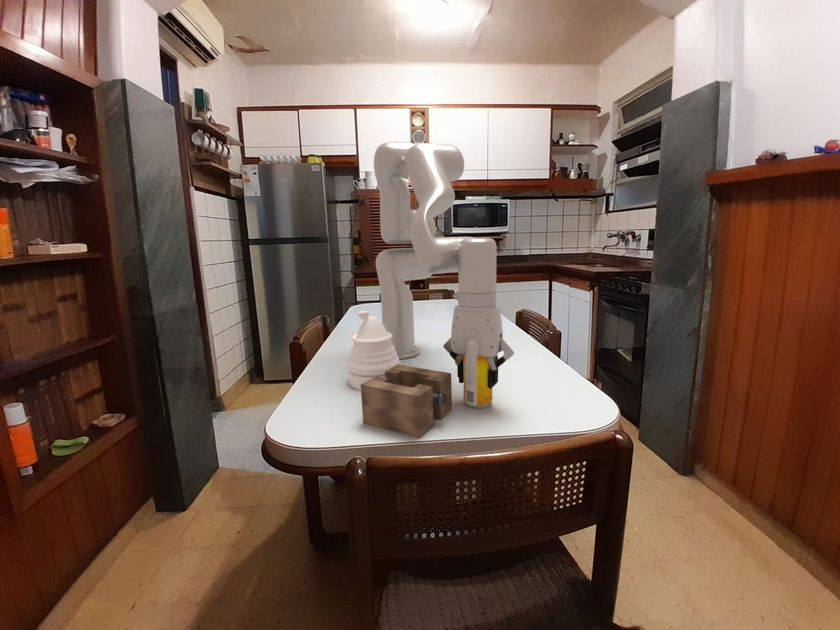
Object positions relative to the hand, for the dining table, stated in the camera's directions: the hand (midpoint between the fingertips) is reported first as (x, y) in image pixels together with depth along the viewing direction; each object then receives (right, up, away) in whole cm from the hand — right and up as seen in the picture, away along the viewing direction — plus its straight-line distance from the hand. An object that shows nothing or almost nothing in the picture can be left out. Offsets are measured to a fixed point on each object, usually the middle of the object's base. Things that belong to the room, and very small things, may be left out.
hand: (477, 382), depth 85 cm
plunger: (-10, -3, -8) cm, 13 cm away
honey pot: (-23, -2, +16) cm, 28 cm away
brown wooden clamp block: (-14, -6, -4) cm, 16 cm away
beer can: (0, -5, +1) cm, 5 cm away
